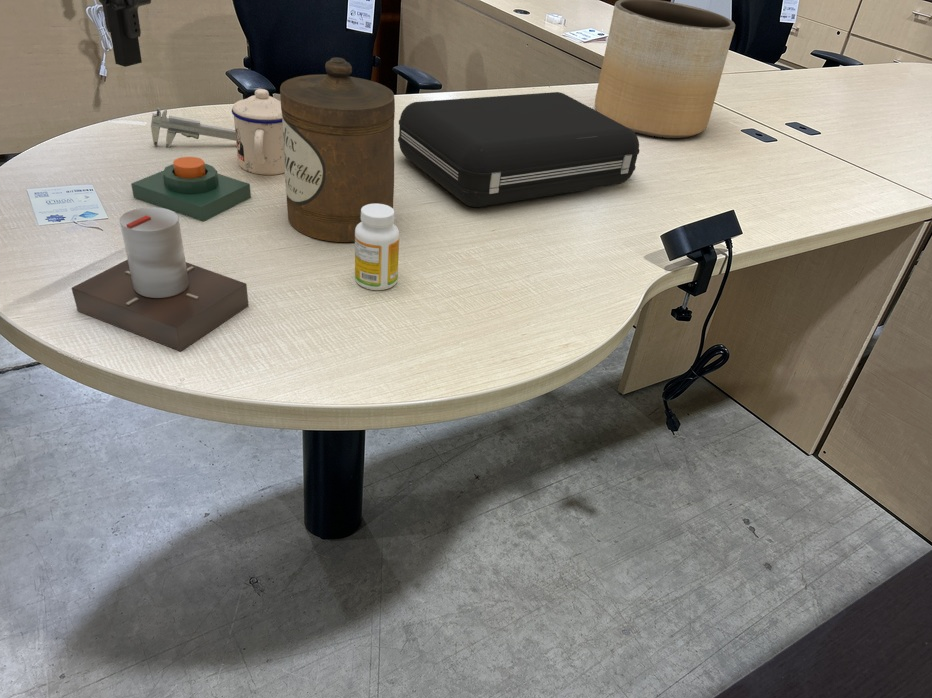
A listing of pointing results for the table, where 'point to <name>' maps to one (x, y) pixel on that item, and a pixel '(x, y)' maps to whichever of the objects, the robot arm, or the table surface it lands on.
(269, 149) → the teacup with lid
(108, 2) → the robot arm
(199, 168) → the button
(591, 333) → the table surface
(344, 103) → the wooden container
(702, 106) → the planter
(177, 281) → the dial
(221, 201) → the button block
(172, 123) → the caliper
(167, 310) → the brown rectangular base
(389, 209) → the supplement bottle
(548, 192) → the briefcase
